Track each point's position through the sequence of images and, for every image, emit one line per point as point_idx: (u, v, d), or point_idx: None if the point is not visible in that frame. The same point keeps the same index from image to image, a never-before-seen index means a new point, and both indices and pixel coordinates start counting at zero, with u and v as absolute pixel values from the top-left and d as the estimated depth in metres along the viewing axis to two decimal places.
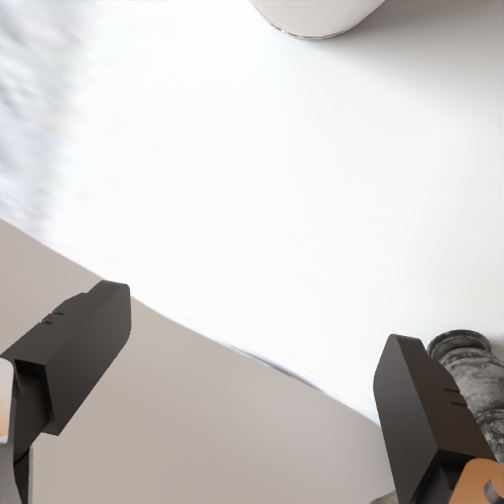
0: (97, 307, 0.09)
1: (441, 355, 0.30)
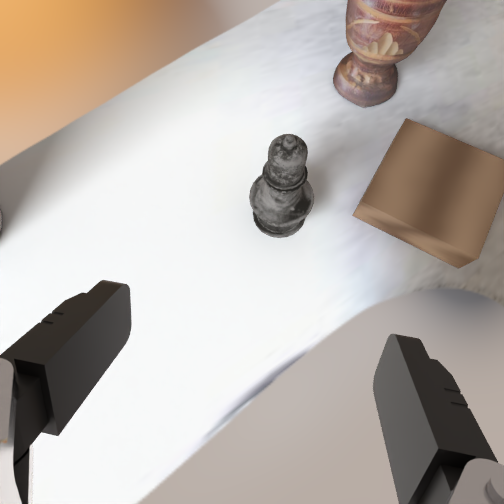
0: (97, 307, 0.09)
1: None
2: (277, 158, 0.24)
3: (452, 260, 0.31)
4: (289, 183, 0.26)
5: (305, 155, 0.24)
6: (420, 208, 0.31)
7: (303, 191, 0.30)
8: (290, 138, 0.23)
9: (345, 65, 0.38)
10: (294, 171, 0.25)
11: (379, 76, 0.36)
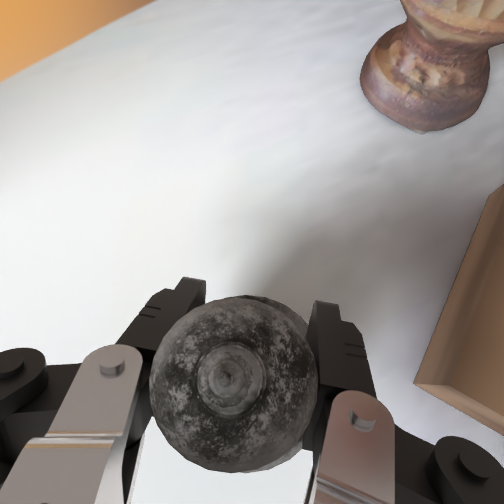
0: (189, 301, 0.09)
1: None
2: (174, 441, 0.05)
3: None
4: None
5: (309, 415, 0.05)
6: None
7: None
8: (226, 393, 0.04)
9: (387, 51, 0.19)
10: None
11: (461, 72, 0.18)
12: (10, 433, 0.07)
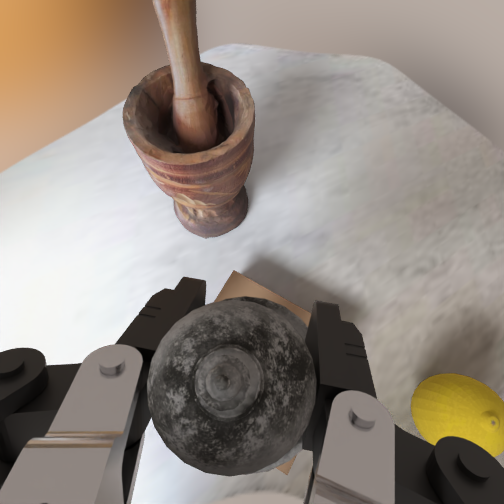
0: (189, 301, 0.09)
1: None
2: (171, 443, 0.05)
3: None
4: None
5: (307, 418, 0.05)
6: None
7: None
8: (223, 397, 0.04)
9: None
10: None
11: (213, 211, 0.31)
12: (10, 433, 0.07)
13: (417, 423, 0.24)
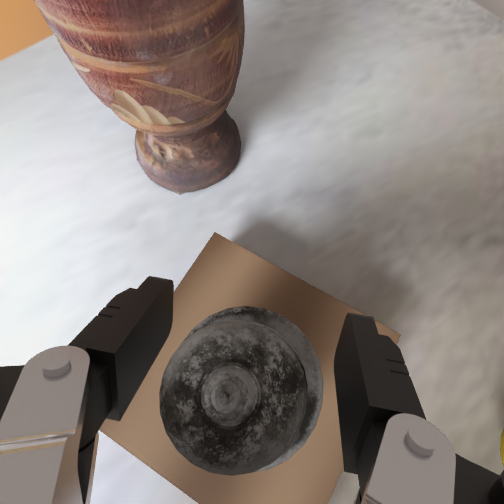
0: (150, 301, 0.09)
1: None
2: (181, 448, 0.06)
3: None
4: None
5: (298, 425, 0.06)
6: None
7: None
8: (225, 410, 0.05)
9: None
10: None
11: (188, 149, 0.21)
12: None
13: None
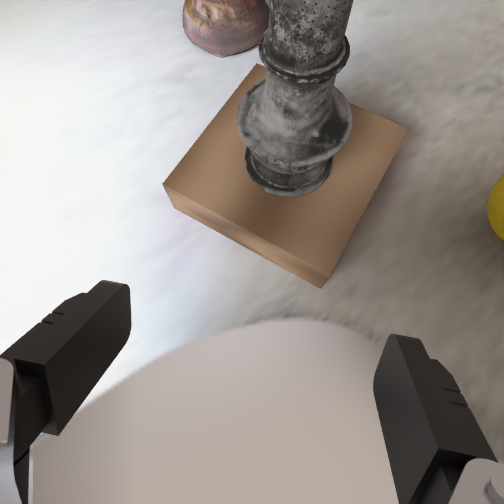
0: (97, 307, 0.09)
1: (281, 174, 0.19)
2: None
3: (306, 276, 0.20)
4: (314, 58, 0.12)
5: None
6: (252, 195, 0.20)
7: (334, 105, 0.17)
8: None
9: None
10: (330, 15, 0.11)
11: (231, 8, 0.25)
12: None
13: (502, 214, 0.18)
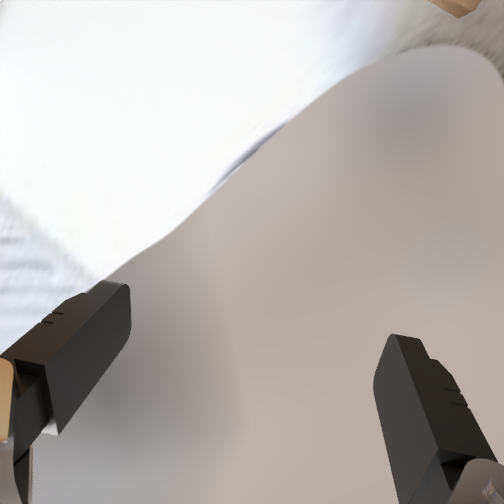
0: (97, 307, 0.09)
1: None
2: None
3: (451, 9, 0.28)
4: None
5: None
6: None
7: None
8: None
9: None
10: None
11: None
12: None
13: None
